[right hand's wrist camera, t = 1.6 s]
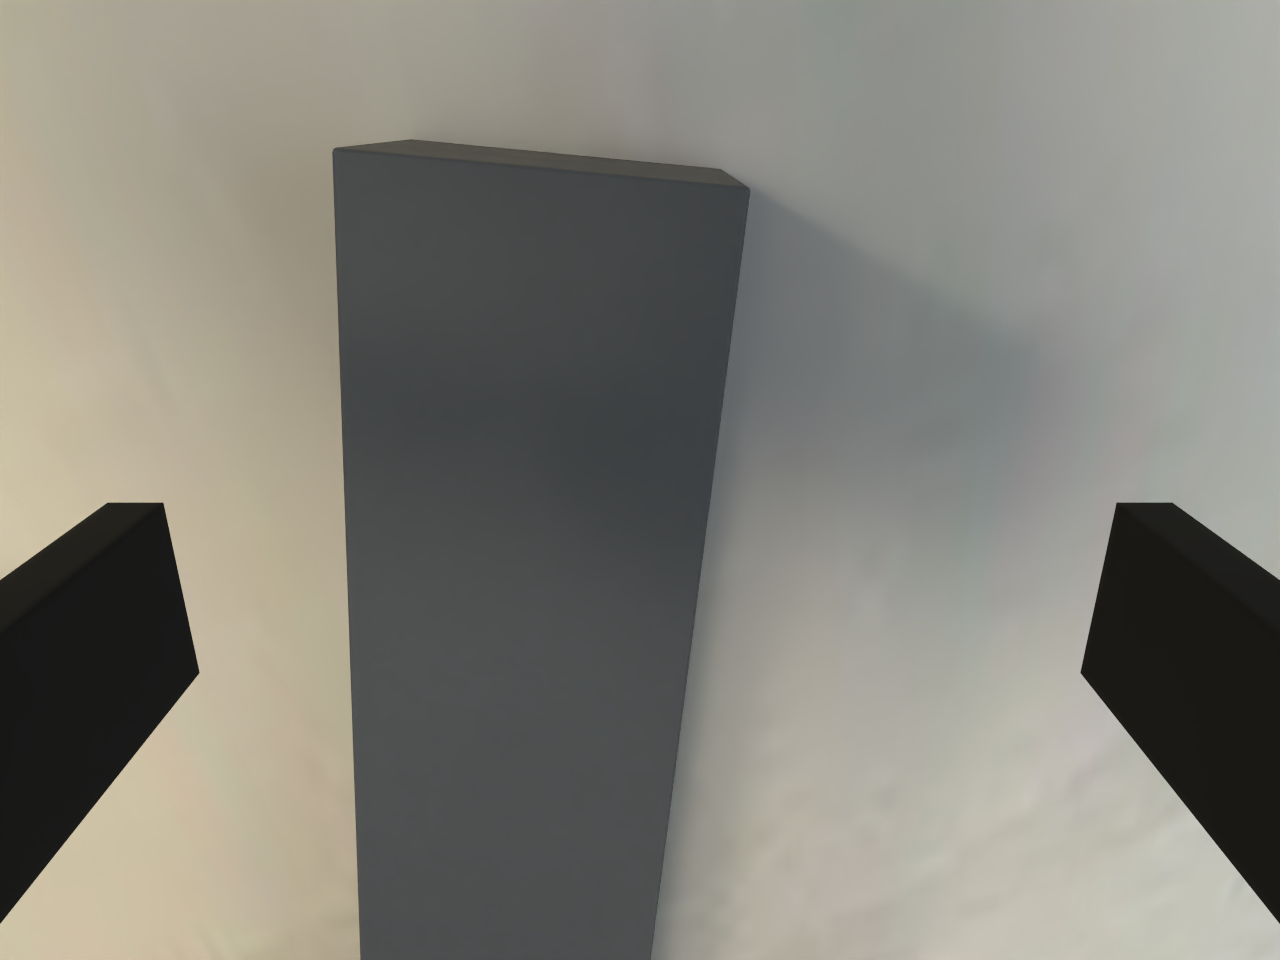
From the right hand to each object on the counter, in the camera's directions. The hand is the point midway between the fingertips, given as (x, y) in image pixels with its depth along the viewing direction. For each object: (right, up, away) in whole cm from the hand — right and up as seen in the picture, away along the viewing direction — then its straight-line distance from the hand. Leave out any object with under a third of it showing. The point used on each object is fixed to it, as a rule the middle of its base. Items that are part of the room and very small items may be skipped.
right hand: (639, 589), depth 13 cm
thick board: (-5, -19, +26) cm, 32 cm away
